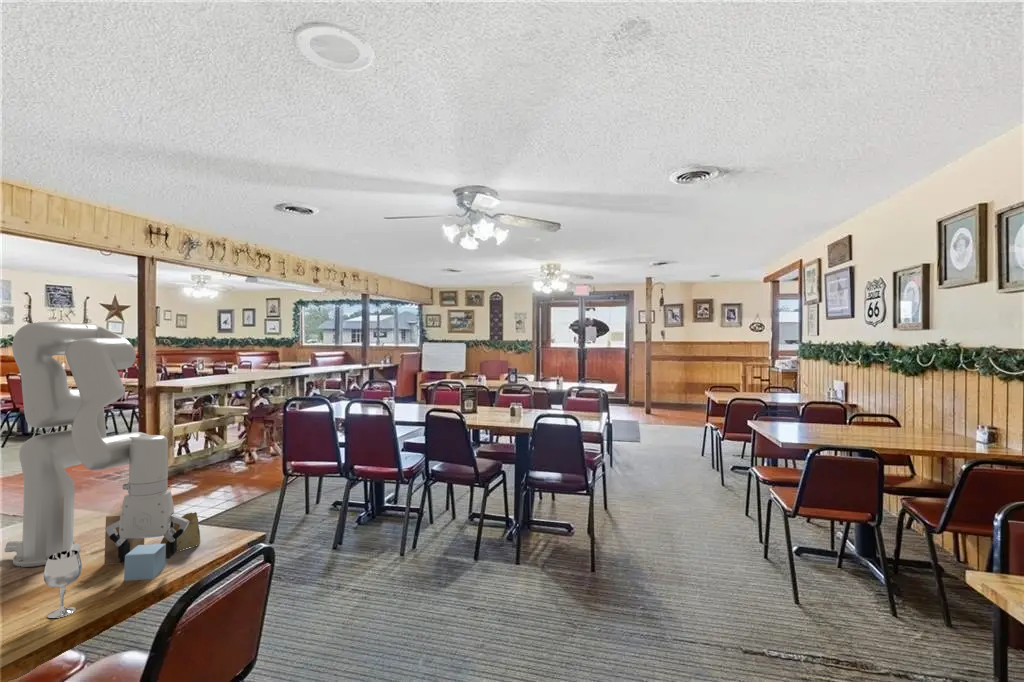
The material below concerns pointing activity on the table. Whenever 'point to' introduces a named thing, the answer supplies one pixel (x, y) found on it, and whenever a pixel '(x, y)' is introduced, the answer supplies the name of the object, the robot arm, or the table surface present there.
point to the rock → (187, 533)
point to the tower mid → (112, 521)
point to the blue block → (144, 562)
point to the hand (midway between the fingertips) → (147, 558)
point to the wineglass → (62, 576)
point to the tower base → (112, 550)
